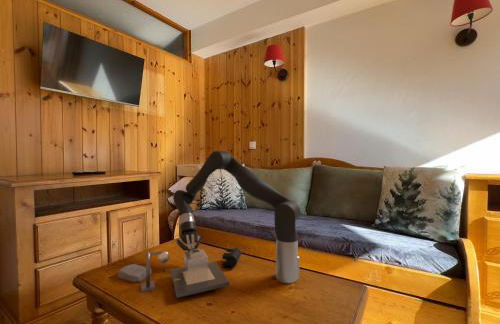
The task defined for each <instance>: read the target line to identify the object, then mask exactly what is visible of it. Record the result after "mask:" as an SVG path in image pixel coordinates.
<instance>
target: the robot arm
mask: <svg viewBox="0 0 500 324" xmlns="http://www.w3.org/2000/svg"><path fill="white" fill-rule="evenodd" d="M217 170H224V171H225V172H227V173H229V174H230V175H231V176H233V178H234V179H235V181H236V183H237V184H238V186H239V187H240V188H241V189H242V190H243V191H244V192H245V193H247V194H248V195H249V196H250V197H252V198H255V199H256V200H259V201H262V202H264V203H266V204H268V205H269V206H271V207H272V208H274V209H275V210H274V220H273V221H274V233H275V236H276V237H275V238H276V239H275V240H276V241H275V242H276V243H275V245H276V246H275V251H276V252H275V279H276V280H277V281H278V282H281V283H283V284H293V283H296V282H297V281H298V280H300V256H299V255H298V253H299V251H298V250H299V247H298V246H299V245H298V244H299V243H298V242H299V235H298V232H297V231H296V221H297V220H298V219H299V218H300V217H301V208H300V207H299V205H298V203H296V202H295V201H294V200H292V199H291V198H288V197H287V196H285V195H284V194H282V193H280V192H279V191H277V190H276V189H275V188H274V187H273V186H271V185H270V184H269V183H267V182H266V181H265V180H263V179H262V178H261V177H259V176H258V175H257V174H255V173H254V172H252V171H251V170H250V169H248V168H247V167H246V166H244V165H242V164H241V163H240V162H239V161H238V160H237V159H236V158H235V157H234V156H233V155H232V154H230V153H229V152H227V151H225V150H215V151H211V153H210V154H209V155H208V157H207V158H206V160H205V161H204V163H203V164H202V166H201V167H200V169H199V170H198V172H197V173H196V175H194V177H193V178H192V179H191V180H189V182H188V183H187V184H186V185H185V190H182V189H179V190H176V191H175V192H174V193H173V202H174V204H175V205H174V206H175V207H176V209H177V211H178V217H179V219H178V222H179V230H180V237H179V238H178V239H176V243H175V244H176V245H177V246H178V247H180V248H181V250H183V251H184V252H185V251H186V252H190V250H193V249H199V246H200V245H201V243H202V241H203V238H204V237H203V236H200V235H199V234H198V232H197V227H196V220H195V217H194V213H193V208H192V206H191V204H192V203H193V202H194V199H195V198H196V196H197V195H198V193H199V192H200V191H201V190H202V189H203V188H204V187H205V185H206V183H207V181H208V178H209V177H210V176H211V175H212V174H213V173H214V172H216V171H217ZM196 240H197V242H196ZM195 243H196V244H195Z"/></svg>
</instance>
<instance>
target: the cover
mask: <svg viewBox="0 0 500 324" xmlns="http://www.w3.org/2000/svg"><path fill="white" fill-rule="evenodd" d="M183 262H184V263H183V265H184V266H183V267H184V269H185V271H186V274H187V276H188V277H191V276H196V275H201V274H206V273H208V263H209V255H207V253H206V251H205V250H204V249H201V248H197V249H193V250H190V252H188V251H186V252H185V251H184V258H183Z"/></svg>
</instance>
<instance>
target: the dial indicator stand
mask: <svg viewBox="0 0 500 324" xmlns="http://www.w3.org/2000/svg"><path fill="white" fill-rule="evenodd" d="M154 255H155V256H156V255H158V256H157V258H158V262H159V263H162V264H163V265H162V272H163V273H165V267H166V265H165V263H167V262H168V261H169V260H170V258H171V257H170V256H171V255H170V253H169V252H168V251H166V250H161V251H154V252H153V251H152V252H150V251H146V252H145V267H146V278H145V282H140V283H141V284H140V287H141V288H140V289H141V291H140V292H141V293H145V292H149V291H150V292H151V291H156V284H155V283H156V282H155V280H151V274H150V268H151V256H154Z"/></svg>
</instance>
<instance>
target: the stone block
mask: <svg viewBox="0 0 500 324" xmlns="http://www.w3.org/2000/svg"><path fill="white" fill-rule="evenodd" d="M151 274H152V268H151V267H150V275H151ZM118 278H119V279H121V280H124V281H128V282H132V283H141V282H142V281H143V280H146V266H143V265H140V264H136V263H132V264H127V265H124V266H123V267H121V268H120V270H119V271H118Z"/></svg>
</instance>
